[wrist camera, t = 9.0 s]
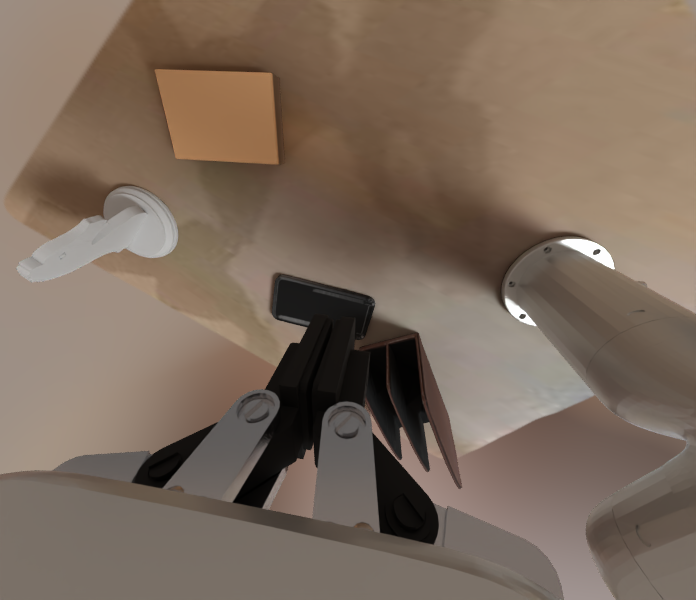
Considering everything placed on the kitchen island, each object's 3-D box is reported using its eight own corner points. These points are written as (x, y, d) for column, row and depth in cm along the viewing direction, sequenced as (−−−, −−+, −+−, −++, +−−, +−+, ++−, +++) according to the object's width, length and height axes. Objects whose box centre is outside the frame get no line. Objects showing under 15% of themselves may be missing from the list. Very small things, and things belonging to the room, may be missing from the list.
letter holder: (418, 330, 43) (431, 405, 31) (448, 413, 51) (468, 498, 39) (358, 346, 46) (349, 420, 33) (396, 422, 54) (400, 504, 42)
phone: (363, 341, 44) (271, 318, 43) (363, 337, 45) (273, 314, 44) (376, 300, 40) (275, 274, 40) (376, 296, 41) (278, 271, 40)
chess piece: (190, 225, 38) (91, 266, 25) (160, 268, 42) (61, 324, 29) (125, 168, 35) (-25, 183, 22) (99, 221, 39) (-40, 259, 26)
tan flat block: (270, 72, 27) (154, 69, 28) (277, 164, 31) (175, 158, 32) (280, 78, 29) (174, 75, 30) (285, 162, 33) (191, 157, 34)
